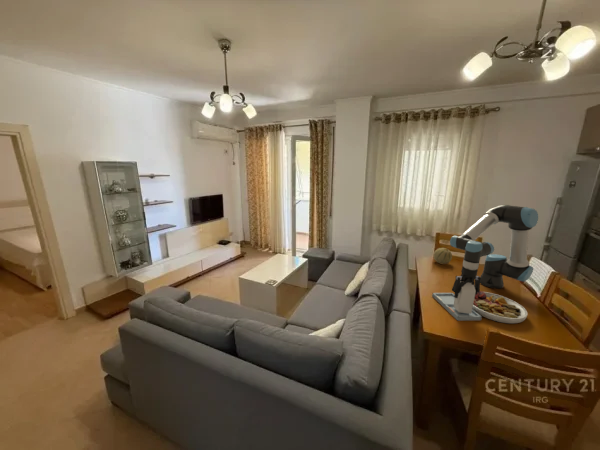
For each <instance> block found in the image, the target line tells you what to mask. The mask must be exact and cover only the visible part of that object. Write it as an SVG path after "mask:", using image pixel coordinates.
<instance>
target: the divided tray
mask: <svg viewBox="0 0 600 450" xmlns="http://www.w3.org/2000/svg"><path fill="white" fill-rule="evenodd" d="M431 293H432V295H431V297H432V298H433V299H435V300H436V301H437V302H438V304H440V306H442V307H443V308H444V309H445V310H446V311H447V312H448V313H449V314H450V315H451V316H452V317H453V318H454V319H455V320H457V321H458V322H459V321H460V322H461V321H482V317H483V316H481V315H479V314H478V313H477V312H476V311H474V310H473V309H472V312H471V314H469V313H459V312H458V311H457V310H456V309H455V307H454V306H453V305H454V300H455V297H454V294H455V293H454V292H431Z"/></svg>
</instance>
